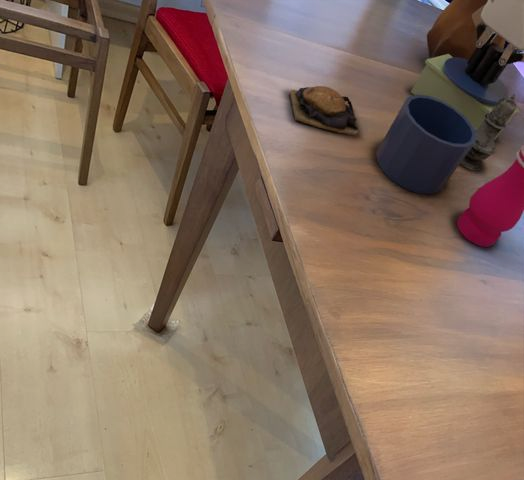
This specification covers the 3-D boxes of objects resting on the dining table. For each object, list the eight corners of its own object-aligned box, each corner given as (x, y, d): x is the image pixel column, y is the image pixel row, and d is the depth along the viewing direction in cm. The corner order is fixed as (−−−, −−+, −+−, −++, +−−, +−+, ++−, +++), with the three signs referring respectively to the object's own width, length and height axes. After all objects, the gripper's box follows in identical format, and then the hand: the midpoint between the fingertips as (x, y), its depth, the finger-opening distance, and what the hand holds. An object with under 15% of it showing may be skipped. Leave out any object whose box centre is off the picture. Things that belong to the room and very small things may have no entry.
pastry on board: (293, 124, 82) (302, 101, 79) (287, 90, 87) (296, 68, 84) (358, 139, 85) (369, 118, 83) (349, 106, 90) (359, 85, 87)
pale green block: (497, 139, 100) (519, 110, 95) (477, 149, 96) (500, 119, 91) (430, 84, 104) (448, 53, 99) (408, 91, 100) (426, 59, 95)
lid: (515, 100, 97) (541, 64, 92) (483, 113, 90) (509, 75, 85) (463, 58, 100) (486, 22, 95) (428, 68, 93) (450, 29, 88)
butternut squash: (470, 65, 115) (557, -73, 96) (484, 101, 107) (582, -40, 88) (410, 43, 112) (488, -104, 92) (420, 79, 104) (507, -73, 84)
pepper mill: (455, 206, 83) (550, 83, 68) (497, 227, 84) (601, 109, 68) (452, 236, 79) (552, 111, 63) (497, 257, 79) (608, 139, 64)
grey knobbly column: (481, 176, 91) (531, 112, 81) (449, 160, 91) (496, 93, 81) (484, 159, 94) (532, 95, 85) (453, 143, 94) (499, 77, 85)
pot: (455, 182, 87) (489, 136, 81) (417, 203, 81) (450, 154, 74) (403, 137, 90) (432, 89, 83) (362, 153, 83) (389, 102, 77)
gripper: (610, -11, 80) (523, 103, 94) (523, -72, 84) (452, 46, 98) (592, -8, 76) (504, 111, 90) (501, -72, 80) (431, 52, 94)
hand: (478, 76), depth 94 cm, fingers closed on lid, 2 cm apart
